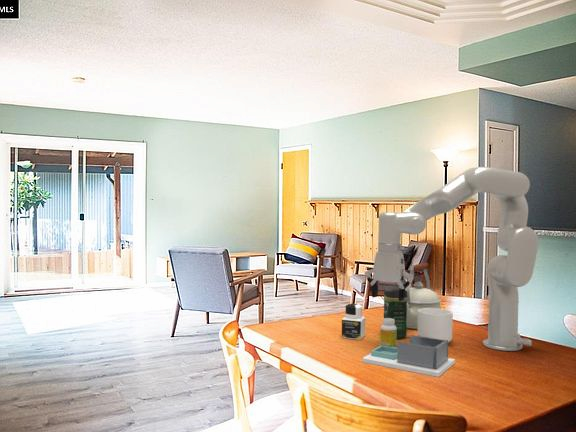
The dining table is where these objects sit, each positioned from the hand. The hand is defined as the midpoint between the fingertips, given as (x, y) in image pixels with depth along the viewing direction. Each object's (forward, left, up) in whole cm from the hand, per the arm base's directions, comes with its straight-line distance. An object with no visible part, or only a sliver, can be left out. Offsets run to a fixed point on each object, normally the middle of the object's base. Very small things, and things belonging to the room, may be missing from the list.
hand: (388, 298), depth 180 cm
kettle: (+3, -36, -17) cm, 40 cm away
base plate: (-12, +12, -17) cm, 24 cm away
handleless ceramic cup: (-11, -16, -17) cm, 26 cm away
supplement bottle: (0, 0, -17) cm, 17 cm away
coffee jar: (+4, -16, -17) cm, 24 cm away
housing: (-17, +12, -16) cm, 26 cm away
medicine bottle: (+16, -6, -17) cm, 24 cm away
